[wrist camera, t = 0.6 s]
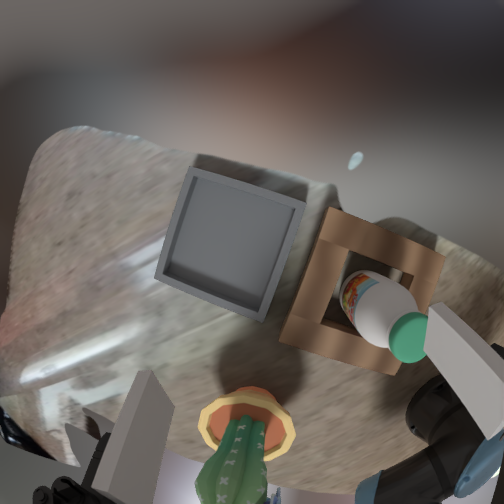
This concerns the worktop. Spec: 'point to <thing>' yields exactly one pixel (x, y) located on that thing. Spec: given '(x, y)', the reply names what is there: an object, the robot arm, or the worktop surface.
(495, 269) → the worktop surface
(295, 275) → the worktop surface
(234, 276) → the tray
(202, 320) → the worktop surface
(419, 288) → the block
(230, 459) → the potted cactus
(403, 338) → the milk bottle
